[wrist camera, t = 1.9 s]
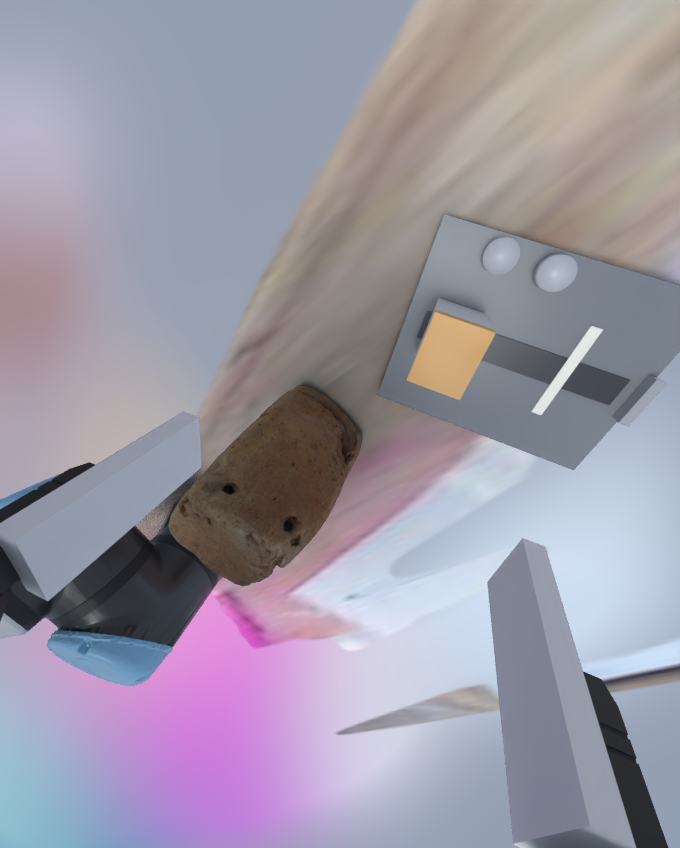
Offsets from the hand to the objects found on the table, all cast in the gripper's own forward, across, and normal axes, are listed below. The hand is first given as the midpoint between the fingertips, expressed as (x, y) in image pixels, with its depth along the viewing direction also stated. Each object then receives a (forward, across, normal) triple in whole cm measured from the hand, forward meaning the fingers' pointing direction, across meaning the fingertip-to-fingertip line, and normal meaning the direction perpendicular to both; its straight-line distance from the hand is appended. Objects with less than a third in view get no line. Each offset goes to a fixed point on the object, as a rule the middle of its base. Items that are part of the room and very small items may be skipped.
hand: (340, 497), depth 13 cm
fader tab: (+20, +3, +3) cm, 20 cm away
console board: (+23, +9, +2) cm, 24 cm away
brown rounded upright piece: (+23, -7, -12) cm, 26 cm away
